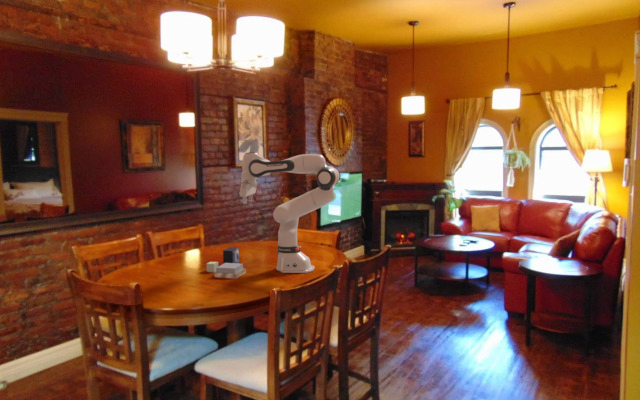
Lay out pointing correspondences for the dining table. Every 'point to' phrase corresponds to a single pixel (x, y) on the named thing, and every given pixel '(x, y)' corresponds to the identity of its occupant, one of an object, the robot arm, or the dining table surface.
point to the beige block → (212, 266)
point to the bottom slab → (227, 275)
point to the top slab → (229, 268)
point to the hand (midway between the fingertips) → (247, 202)
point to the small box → (231, 255)
